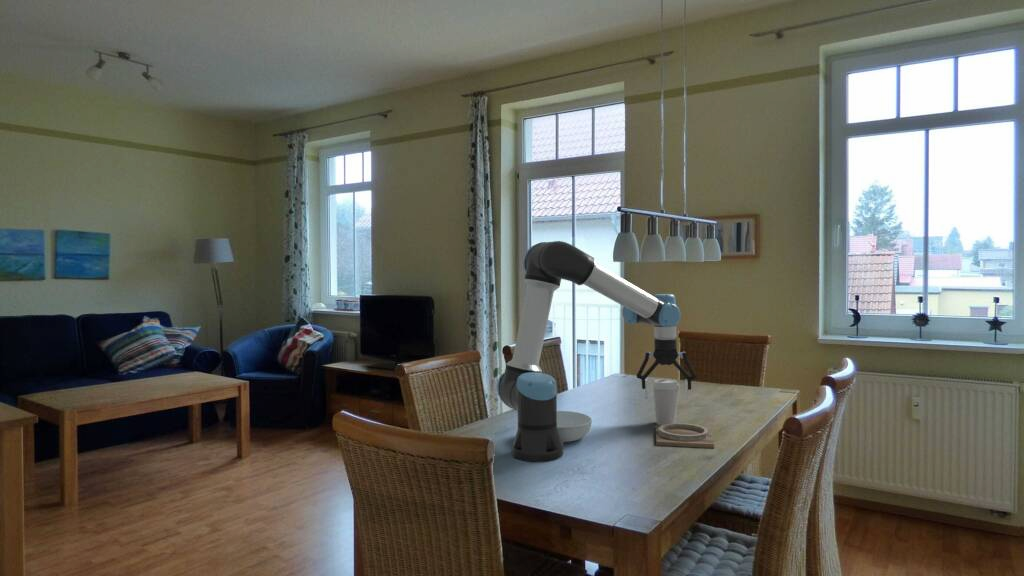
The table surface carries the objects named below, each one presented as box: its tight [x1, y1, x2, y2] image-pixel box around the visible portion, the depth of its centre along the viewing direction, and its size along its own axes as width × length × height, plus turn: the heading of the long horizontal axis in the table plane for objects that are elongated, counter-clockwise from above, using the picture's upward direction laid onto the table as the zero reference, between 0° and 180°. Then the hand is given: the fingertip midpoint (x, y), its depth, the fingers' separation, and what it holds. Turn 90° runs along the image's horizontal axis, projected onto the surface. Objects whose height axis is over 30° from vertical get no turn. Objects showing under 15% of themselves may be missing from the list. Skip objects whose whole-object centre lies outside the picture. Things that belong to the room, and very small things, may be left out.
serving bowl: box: [557, 410, 592, 443], centre depth 195 cm, size 21×21×7 cm
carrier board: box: [655, 422, 715, 449], centre depth 195 cm, size 20×17×3 cm
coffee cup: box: [651, 378, 681, 425], centre depth 212 cm, size 10×10×15 cm
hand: (666, 398), depth 212 cm, fingers open, 13 cm apart
